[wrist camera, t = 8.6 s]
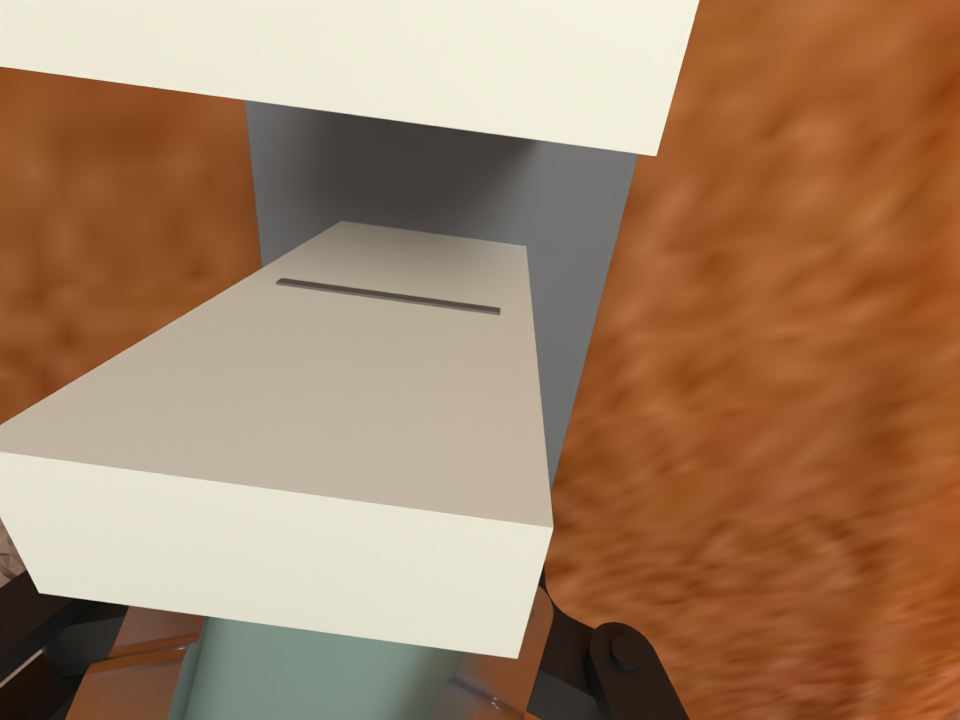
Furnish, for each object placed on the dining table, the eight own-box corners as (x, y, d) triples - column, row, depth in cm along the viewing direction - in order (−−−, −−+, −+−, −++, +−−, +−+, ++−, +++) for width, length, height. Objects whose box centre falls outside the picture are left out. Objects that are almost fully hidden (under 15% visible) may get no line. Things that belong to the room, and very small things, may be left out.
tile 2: (341, 219, 13) (-38, 441, 4) (526, 244, 13) (554, 523, 4) (342, 290, 14) (40, 596, 5) (514, 313, 14) (516, 661, 5)
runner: (224, -195, 9) (212, -208, 9) (706, -130, 9) (713, -139, 9) (304, 627, 23) (300, 635, 22) (506, 655, 23) (506, 664, 22)
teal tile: (338, 384, 15) (71, 791, 6) (500, 406, 15) (481, 847, 6) (339, 437, 16) (113, 854, 7) (491, 458, 16) (465, 901, 7)
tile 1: (337, -5, 10) (-604, -658, 2) (563, 26, 10) (827, -463, 2) (339, 100, 11) (-243, 43, 3) (545, 128, 11) (654, 166, 3)
